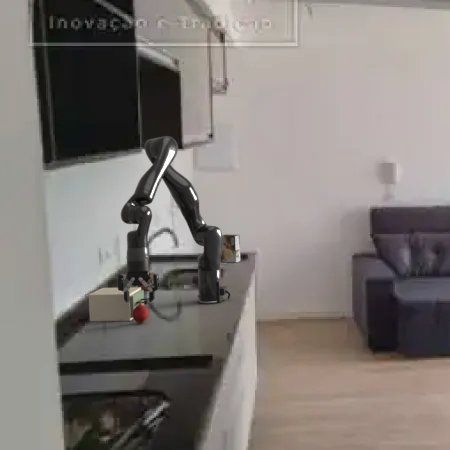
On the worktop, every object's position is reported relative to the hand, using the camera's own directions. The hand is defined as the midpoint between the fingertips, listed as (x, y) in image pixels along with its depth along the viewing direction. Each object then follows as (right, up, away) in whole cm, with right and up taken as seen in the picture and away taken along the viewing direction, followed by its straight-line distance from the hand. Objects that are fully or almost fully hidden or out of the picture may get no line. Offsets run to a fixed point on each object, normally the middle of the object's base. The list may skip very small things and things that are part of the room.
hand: (139, 301), depth 234 cm
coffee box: (-9, +6, +141) cm, 141 cm away
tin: (-24, -2, +62) cm, 67 cm away
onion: (0, -9, +1) cm, 9 cm away
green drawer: (-10, -6, +11) cm, 16 cm away
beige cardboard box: (-14, -7, +11) cm, 19 cm away
